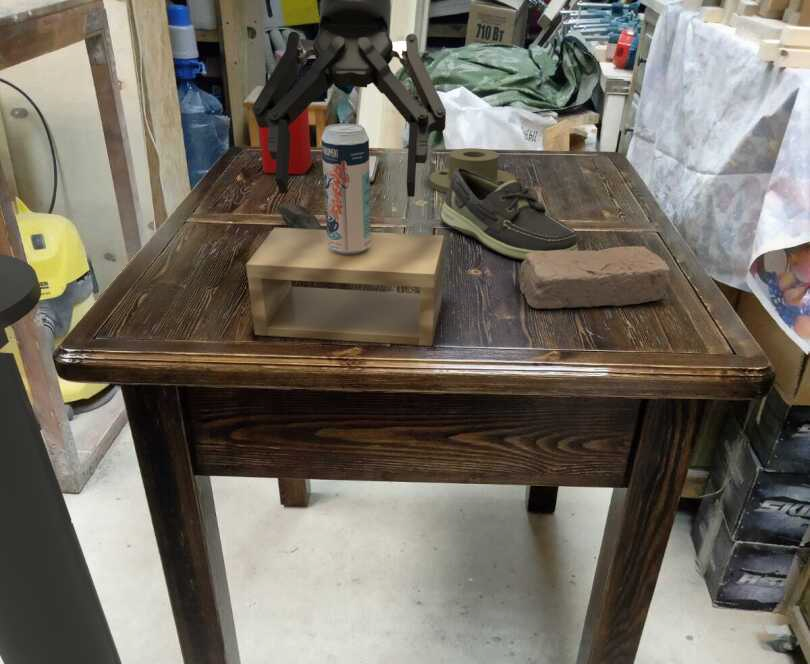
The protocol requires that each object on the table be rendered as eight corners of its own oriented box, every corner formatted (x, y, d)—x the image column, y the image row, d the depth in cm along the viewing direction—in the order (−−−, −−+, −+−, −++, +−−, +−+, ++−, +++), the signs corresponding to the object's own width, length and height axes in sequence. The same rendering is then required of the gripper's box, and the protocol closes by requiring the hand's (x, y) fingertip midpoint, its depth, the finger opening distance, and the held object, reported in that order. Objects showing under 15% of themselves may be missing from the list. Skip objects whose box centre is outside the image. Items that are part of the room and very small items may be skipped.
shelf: (254, 335, 85) (245, 264, 80) (281, 293, 94) (274, 227, 89) (432, 346, 84) (434, 273, 78) (441, 302, 93) (444, 235, 88)
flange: (495, 170, 121) (532, 150, 131) (414, 157, 127) (455, 139, 137) (493, 201, 124) (529, 179, 134) (413, 187, 130) (453, 168, 140)
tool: (366, 270, 104) (368, 248, 102) (315, 276, 101) (316, 253, 99) (303, 213, 116) (304, 192, 114) (256, 216, 113) (256, 194, 111)
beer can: (323, 243, 85) (316, 124, 77) (364, 239, 86) (361, 121, 78) (333, 258, 82) (327, 134, 74) (376, 253, 83) (374, 131, 75)
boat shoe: (552, 273, 100) (561, 208, 95) (416, 229, 113) (417, 170, 108) (594, 255, 106) (605, 192, 100) (459, 215, 119) (462, 157, 114)
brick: (533, 311, 91) (538, 272, 88) (516, 285, 97) (520, 247, 94) (665, 306, 93) (674, 267, 90) (640, 280, 99) (648, 243, 96)
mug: (271, 161, 142) (265, 97, 136) (314, 163, 142) (310, 98, 135) (254, 179, 133) (246, 111, 126) (300, 181, 133) (294, 112, 126)
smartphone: (332, 178, 131) (341, 156, 142) (333, 184, 131) (341, 161, 143) (374, 177, 131) (379, 155, 142) (374, 183, 131) (379, 161, 143)
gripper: (471, 27, 85) (463, 209, 83) (249, 24, 86) (237, 204, 84) (474, -29, 77) (466, 170, 75) (231, -32, 78) (217, 164, 76)
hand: (345, 188), depth 79 cm, fingers open, 13 cm apart
